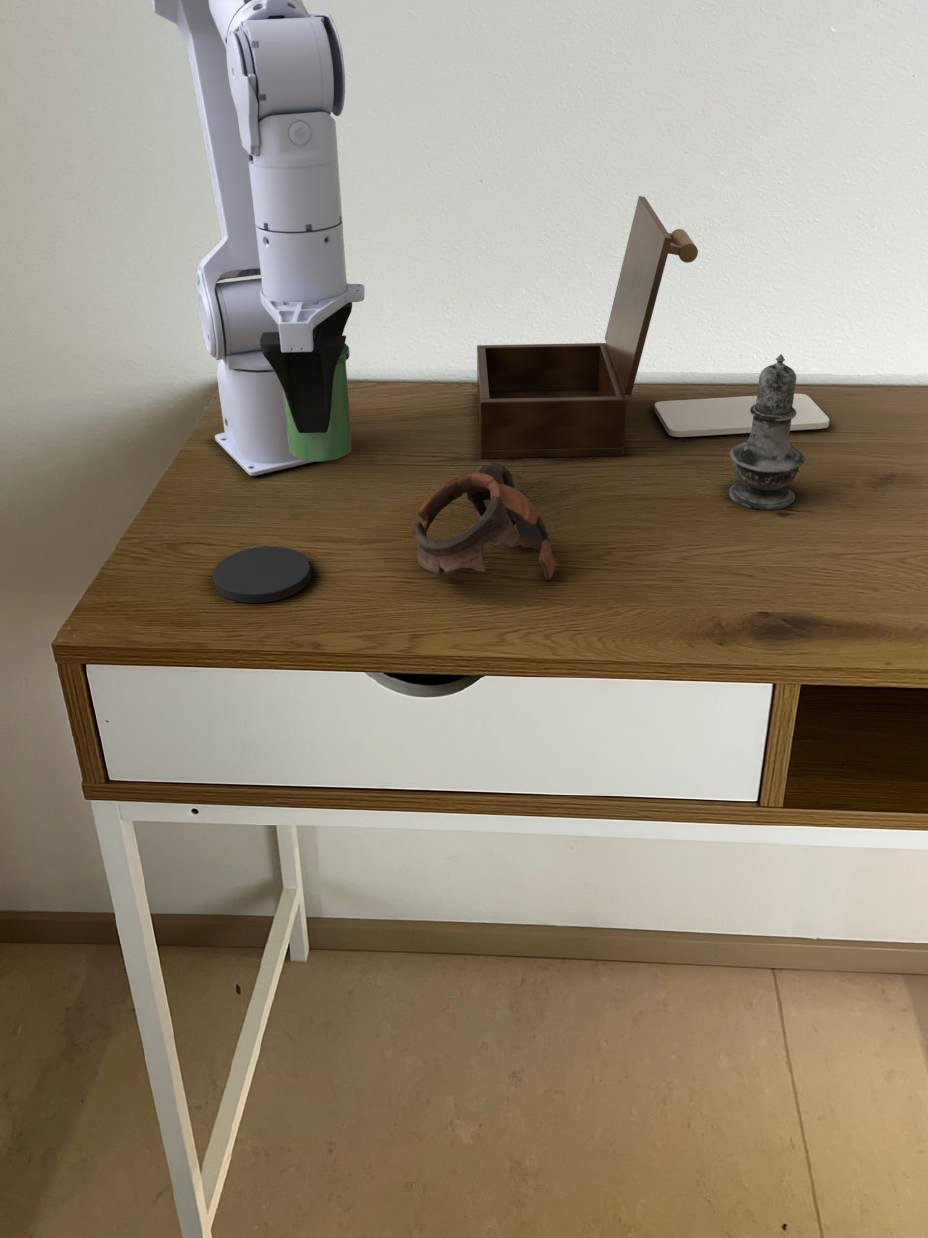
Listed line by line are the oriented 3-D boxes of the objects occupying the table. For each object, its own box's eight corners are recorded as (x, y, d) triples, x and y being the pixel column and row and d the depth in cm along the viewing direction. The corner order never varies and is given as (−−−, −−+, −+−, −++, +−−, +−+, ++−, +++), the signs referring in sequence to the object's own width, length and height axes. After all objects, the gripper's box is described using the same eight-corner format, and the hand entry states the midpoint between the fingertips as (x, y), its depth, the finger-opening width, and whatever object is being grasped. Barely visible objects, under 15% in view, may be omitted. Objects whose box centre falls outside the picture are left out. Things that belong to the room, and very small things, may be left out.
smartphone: (652, 401, 109) (805, 392, 110) (651, 408, 110) (804, 399, 111) (670, 431, 103) (832, 422, 104) (670, 439, 104) (831, 429, 105)
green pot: (274, 444, 85) (263, 346, 81) (338, 429, 87) (330, 333, 83) (302, 469, 81) (292, 367, 77) (368, 453, 83) (361, 353, 79)
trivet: (204, 602, 81) (202, 593, 81) (227, 554, 87) (225, 545, 87) (301, 604, 81) (300, 595, 80) (318, 555, 87) (317, 546, 86)
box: (481, 458, 101) (480, 402, 98) (477, 396, 113) (476, 344, 110) (623, 456, 101) (627, 399, 98) (604, 394, 113) (607, 342, 110)
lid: (664, 237, 91) (715, 245, 91) (638, 195, 103) (683, 203, 104) (624, 394, 98) (671, 402, 98) (604, 338, 110) (646, 345, 111)
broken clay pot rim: (564, 606, 81) (511, 529, 76) (448, 644, 85) (390, 572, 79) (565, 494, 89) (517, 417, 84) (459, 532, 93) (407, 461, 87)
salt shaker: (804, 486, 95) (827, 347, 89) (790, 517, 91) (812, 372, 84) (734, 475, 97) (751, 337, 91) (717, 503, 93) (733, 361, 86)
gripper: (353, 250, 69) (366, 456, 77) (365, 196, 82) (376, 378, 89) (236, 252, 69) (261, 458, 77) (266, 198, 81) (285, 380, 89)
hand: (316, 416), depth 83 cm, fingers closed on green pot, 5 cm apart
